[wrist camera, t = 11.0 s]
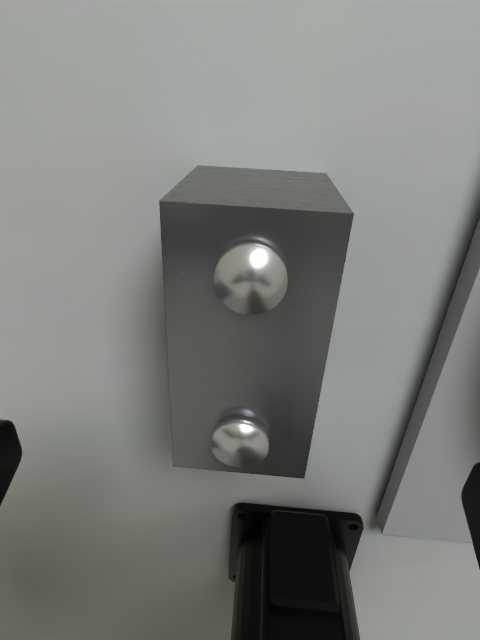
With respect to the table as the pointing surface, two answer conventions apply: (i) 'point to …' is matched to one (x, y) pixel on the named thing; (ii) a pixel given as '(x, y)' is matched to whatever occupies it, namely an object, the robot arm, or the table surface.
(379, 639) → the table surface
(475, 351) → the base plate
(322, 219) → the steel link block
